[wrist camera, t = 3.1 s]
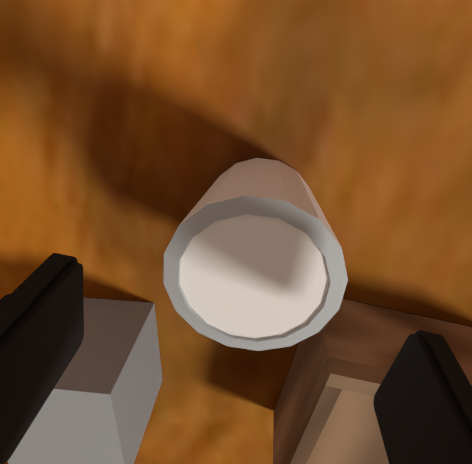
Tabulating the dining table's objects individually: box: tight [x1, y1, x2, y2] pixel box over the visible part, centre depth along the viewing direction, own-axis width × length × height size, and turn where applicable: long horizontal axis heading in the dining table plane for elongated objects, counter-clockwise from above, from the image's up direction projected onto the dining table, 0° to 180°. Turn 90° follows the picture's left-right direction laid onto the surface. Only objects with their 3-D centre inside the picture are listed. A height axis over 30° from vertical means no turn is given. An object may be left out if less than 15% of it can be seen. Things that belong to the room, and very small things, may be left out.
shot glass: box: [164, 158, 348, 351], centre depth 17 cm, size 7×7×7 cm
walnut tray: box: [273, 299, 472, 464], centre depth 22 cm, size 11×11×6 cm
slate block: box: [8, 297, 162, 464], centre depth 22 cm, size 7×7×7 cm
